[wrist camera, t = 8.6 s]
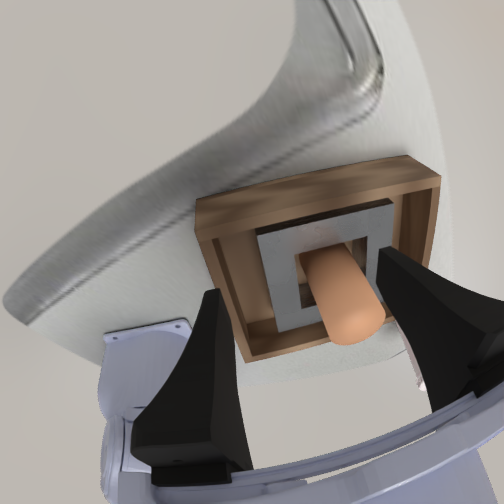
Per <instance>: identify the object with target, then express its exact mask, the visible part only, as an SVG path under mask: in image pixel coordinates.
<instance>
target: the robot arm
mask: <svg viewBox="0 0 504 504" xmlns="http://www.w3.org/2000/svg"><path fill="white" fill-rule="evenodd" d="M375 283H376V285H377V287H378V289H379V292H380V294H381V296H382V298H383V300H384V302H385V303H386V305H387V307H388V308H389V310H390V312H391V313H392V315H393V316H394V318H395V320H396V321H397V323H398V325H399V326H400V328H401V330H402V331H403V333H404V335H405V336H406V338H407V340H408V342H409V344H410V346H411V349H412V351H413V353H414V356H415V358H416V360H417V363H418V366H419V368H420V371H421V374H422V377H423V380H424V383H425V386H426V390H427V393H428V397H429V400H430V405H431V409H432V414H430V415H428V416H426V417H424V418H421V419H419V420H417V421H415V422H413V423H411V424H408V425H406V426H404V427H401V428H399V429H397V430H394V431H392V432H390V433H387V434H385V435H382V436H379V437H376V438H374V439H371V440H368V441H365V442H363V443H360V444H357V445H354V446H351V447H348V448H344V449H341V450H338V451H335V452H331V453H328V454H324V455H321V456H317V457H313V458H309V459H305V460H301V461H297V462H292V463H288V464H283V465H278V466H273V467H268V468H262V469H256V470H254V469H253V465H252V460H251V456H250V452H249V447H248V443H247V438H246V433H245V429H244V424H243V418H242V413H241V408H240V402H239V396H238V389H237V377H236V359H235V342H234V335H233V329H232V323H231V318H230V315H229V313H228V310H227V307H226V304H225V301H224V299H223V296H222V293H221V290H220V288H216V289H212V290H207V291H205V293H204V296H203V300H202V303H201V307H200V310H199V313H198V316H197V319H196V321H195V324H194V327H193V330H192V329H191V327H190V325H189V323H188V322H187V320H184V319H181V320H176V321H171V322H166V323H161V324H156V325H151V326H146V327H141V328H136V329H130V330H125V331H120V332H114V333H108V334H104V336H103V339H104V341H105V342H106V343H107V344H106V349H105V353H104V358H103V363H102V368H101V373H100V379H99V384H98V401H99V405H100V409H101V411H102V414H103V415H104V417H105V418H106V420H107V423H106V426H105V430H104V435H103V441H102V449H101V489H102V492H103V493H104V496H105V498H106V500H107V501H108V502H109V503H110V504H498V503H497V500H496V497H495V494H494V491H493V488H492V486H491V483H490V480H489V478H488V475H487V473H486V470H485V468H484V466H483V463H482V461H481V458H480V456H479V453H478V451H477V449H478V448H479V447H481V446H482V445H484V444H485V443H486V442H488V441H489V440H491V439H492V438H494V437H495V436H496V435H498V434H499V433H500V432H502V431H503V430H504V301H501V300H497V299H494V298H490V297H487V296H484V295H481V294H478V293H476V292H473V291H471V290H468V289H466V288H463V287H461V286H459V285H457V284H455V283H453V282H451V281H449V280H447V279H445V278H443V277H441V276H439V275H438V274H436V273H434V272H432V271H431V270H429V269H427V268H426V267H424V266H422V265H421V264H419V263H418V262H416V261H414V260H413V259H411V258H410V257H408V256H406V255H405V254H403V253H402V252H400V251H398V250H397V249H395V248H393V247H391V246H388V247H384V248H380V249H379V252H378V263H377V273H376V282H375ZM437 429H438V430H437ZM435 430H436V432H435V433H433V434H431V435H429V436H428V437H425V438H423V439H421V440H419V441H417V442H415V443H413V444H410V445H408V446H406V447H404V448H401V449H399V450H397V451H394V452H392V453H389V454H387V455H385V456H382V457H380V458H378V459H375V460H373V461H371V462H369V463H367V464H365V465H362V466H359V467H357V468H354V469H351V470H349V471H346V472H343V473H340V474H338V475H335V476H331V477H328V478H325V479H322V480H319V481H316V482H312V483H309V484H307V481H306V480H300V479H305V478H308V477H312V476H317V475H320V474H324V473H328V472H331V471H335V470H338V469H342V468H345V467H348V466H351V465H354V464H357V463H360V462H363V461H366V460H369V459H371V458H374V457H376V456H379V455H382V454H384V453H387V452H389V451H392V450H394V449H397V448H399V447H401V446H404V445H406V444H408V443H410V442H412V441H415V440H417V439H419V438H421V437H423V436H425V435H427V434H429V433H431V432H433V431H435ZM296 480H297V481H296Z"/></svg>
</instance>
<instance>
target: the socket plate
mask: <svg viewBox="0 0 504 504" xmlns="http://www.w3.org/2000/svg"><path fill="white" fill-rule="evenodd" d="M393 221H394V202H392V201H391V200H390V199H389V198H388V197H387V198H383V199H378V200H374V201H369V202H365V203H360V204H356V205H351V206H347V207H343V208H338V209H334V210H330V211H325V212H321V213H317V214H312V215H308V216H304V217H300V218H295V219H291V220H287V221H283V222H279V223H275V224H270V225H266V226H262V227H258V228H254V231H255V236H256V240H257V244H258V249H259V253H260V257H261V262H262V266H263V270H264V275H265V279H266V283H267V288H268V292H269V296H270V301H271V305H272V310H273V313H274V317H275V321H276V325H277V328H278V332H283V331H287V330H291V329H295V328H298V327H302V326H306V325H309V324H313V323H317V322H320V321H323V319H322V317H321V314H320V312H319V309H318V306H317V304H316V301H315V299H314V296H313V294H312V291H311V289H310V286H309V284H308V282H307V283H303V284H299V285H298V280H297V272H296V265H295V258H294V255H295V254H299V253H303V252H307V251H311V250H315V249H319V248H323V247H327V246H330V245H334V244H338V243H342V242H346V241H350V240H352V256H353V258H354V259H355V261H356V263H357V264H358V266H359V267H360V269H361V271H362V272H363V274H364V276H365V277H366V279H367V281H368V282H369V284H370V286H371V288H372V289H373V291H374V293H375V294H376V296H377V298H378V300H379V301H380V303H382V302H384V300H383V298H382V296H381V294H380V292H379V289H378V287H377V285H376V283H375V282H376V273H377V263H378V252H379V249H380V248H384V247H388V246H392V235H393Z"/></svg>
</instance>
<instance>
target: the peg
mask: <svg viewBox="0 0 504 504" xmlns="http://www.w3.org/2000/svg"><path fill="white" fill-rule="evenodd" d="M299 261H300V264H301V266H302V269H303V271H304V274H305V276H306V279H307V281H308V284H309V286H310V289H311V291H312V294H313V296H314V299H315V301H316V304H317V306H318V309H319V312H320V314H321V317H322V319H323V322H324V325H325V327H326V330H327V333H328V335H329V338H330V340H331V341H332V342H333V343H335V344H338V345H351V344H355V343H358V342H361V341H363V340H365V339H367V338H369V337H370V336H372V335H373V334H374V333H375V332H376V331H377V330H378V329H379V328H380V327H381V326H382V324H383V322H384V320H385V316H386V314H385V310H384V308H383V307H382V305H381V303H380V301H379V300H378V298H377V296H376V294H375V293H374V291H373V289H372V288H371V286H370V284H369V282H368V281H367V279H366V277H365V276H364V274H363V272H362V271H361V269H360V267H359V266H358V264H357V263H356V261H355V259H354V258H353V256H352V254H351V253H350V251H349V250H348V248H347V247H346V245H345V243H344V242H342V243H338V244H334V245H330V246H327V247H323V248H319V249H315V250H311V251H307V252H303V253H299Z"/></svg>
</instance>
